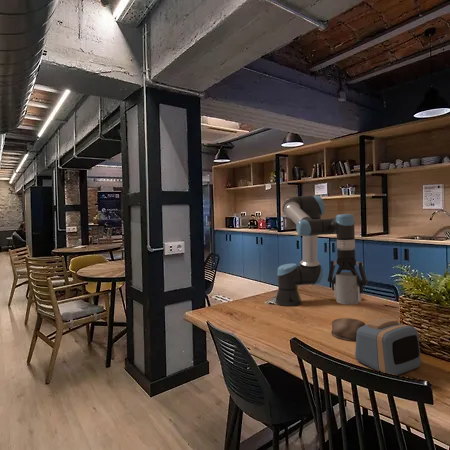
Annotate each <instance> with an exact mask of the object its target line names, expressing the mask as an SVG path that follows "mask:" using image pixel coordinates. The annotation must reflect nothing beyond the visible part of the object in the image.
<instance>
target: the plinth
mask: <svg viewBox="0 0 450 450" xmlns="http://www.w3.org/2000/svg"><path fill="white" fill-rule="evenodd" d="M364 325H366V323H365V322H364V321H362V320H359V319H355V318H350V317H349V318H347V317H343V318H342V317H341V318H337V319H333V320H332V321H331V331H330V332H331V336H332V337H334V338H336V339H337V340H341V341H347V342H348V341H349V342H356V336H357V330H358V329H359V328H360V327H362V326H364Z"/></svg>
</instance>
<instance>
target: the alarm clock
mask: <svg viewBox="0 0 450 450" xmlns="http://www.w3.org/2000/svg"><path fill="white" fill-rule="evenodd" d="M354 357H355V360H357V361H358V362H359V363H361V364H363V365H364V366H367V367H369V368H371V369H373V370H375V371H377V372H379V371H381V372H385V373H390V374H394V375H397V376H399V375H402V374H404V373H408V372H410V371H413V370H416V369H418V368H419V367H420V366H421V364H422V359H421V348H420V339H419V333H418V330H417V328H415V327H414V326H411V325H407V324H403V323H399V321H398V320H397V319H392V318H386V317H385V318H383V317H382V318H375V319H373V320H370V321H369V322H368V323H367V324H365V325H364V326H362V327H360V328H359V329H358V330H357V336H356V341H355V354H354ZM381 372H380V373H381Z"/></svg>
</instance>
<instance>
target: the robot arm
mask: <svg viewBox="0 0 450 450" xmlns="http://www.w3.org/2000/svg"><path fill="white" fill-rule="evenodd" d="M324 203H325V202H324V200H323V198H322V197H321V196H319V195H302V196H292V197H290V198H288V199H286V200H285V201H284V203H283V205H282V213H283V215H284V216H285V217H286V218H287V219H290V220H291V221H292V222H293V223H294V224H295V225H296V232H297V235H298V236H300V237H302V260H300V262H299V265H298V264H296V263H285V264H282V265H279V266H278V267H277V283H278V284H277V288H278V291H277V294H276V298H275V304H277V306H278V305H279V306H284V307H295V306H299V305H301V304H302V298H301V295H300V293H299V290H298V289H299V288H298V286H305V285H306V286H307V285H313V286H314V285H319V284H321V282H322V281H323V279H324V269H323V266H322V265H321V263H320V262H319V260H318V238H319V237H318V236H326V235H327V236H328V235H329V236H330V235H336V248H337V250H336V256H337V259H336V260H330V268H329V273H328V277H327V282H328V283H330V284H331V290H332V291H333V292H334V293H333V295H334V299H337V298H336V275H335V274H340V273H341V272H343V271H349V272H352V274H353V275H354V276H356V275H358V276H357V282H358V286H357V293H358V301H359V302H361V301H362V294H364V286H367V285H368V283H369V282H368V278H367V276H366V272H365V270H364V268H365V267H364V262H363V261H357V260H356V250H355V248H356V237H355V235H356V234H355V231H356V230H355V223H356V222H355V216H354V214H353V213H345V214H344V213H342V214H340V213H339V214H336V216H335V217H331V218H322V216H324V214H325V211H326V210H325V209H326V208H325V204H324ZM336 265H337V266H338V268H337V270H336V269H335V268H336ZM356 266H357V268H358V271H359V273H358V271H357V269H356ZM335 270H336V272H335ZM334 272H335V274H334ZM359 274H360V275H359Z"/></svg>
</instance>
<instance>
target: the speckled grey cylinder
mask: <svg viewBox="0 0 450 450" xmlns="http://www.w3.org/2000/svg"><path fill="white" fill-rule="evenodd" d="M335 275H336V298H335V299H336V303H338V304H340V305H341V304H342V305H358V304H359V303H360V301H358V293H357V286H358V285H359V284H358V282H357V276H358V275H359V274H358V275H356V276H354V275H353V274H352V272H351V271H341V273H340V274H336V273H335V274H334V276H335Z"/></svg>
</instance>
